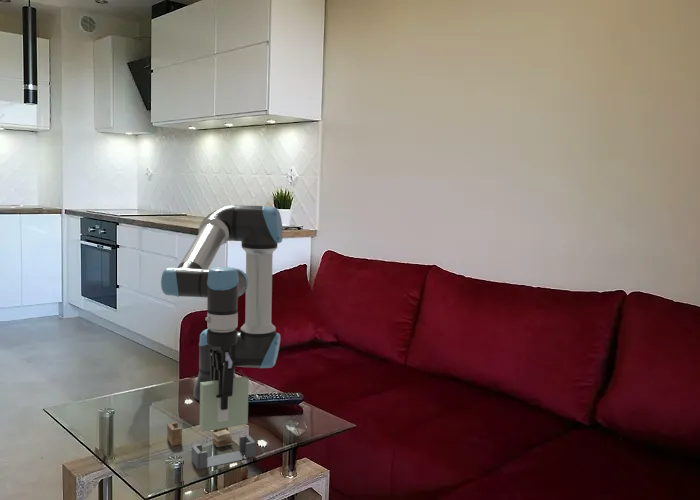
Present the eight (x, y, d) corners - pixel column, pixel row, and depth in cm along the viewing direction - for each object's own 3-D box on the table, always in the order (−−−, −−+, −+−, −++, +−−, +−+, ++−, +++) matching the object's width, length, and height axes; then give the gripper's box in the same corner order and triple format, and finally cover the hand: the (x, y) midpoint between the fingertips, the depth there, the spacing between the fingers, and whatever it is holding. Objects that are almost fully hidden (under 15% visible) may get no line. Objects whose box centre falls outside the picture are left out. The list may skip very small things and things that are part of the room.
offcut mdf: (225, 434, 169) (225, 429, 169) (230, 438, 167) (230, 432, 167) (213, 437, 167) (213, 432, 166) (217, 441, 164) (217, 436, 164)
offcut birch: (227, 444, 170) (227, 439, 170) (232, 448, 167) (232, 443, 167) (212, 447, 167) (212, 442, 167) (217, 452, 165) (217, 447, 165)
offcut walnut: (225, 439, 170) (225, 434, 169) (231, 442, 167) (231, 437, 167) (213, 443, 167) (213, 437, 167) (219, 446, 165) (219, 441, 164)
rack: (222, 431, 177) (222, 414, 176) (227, 438, 172) (228, 420, 172) (167, 441, 169) (167, 423, 168) (171, 449, 164) (171, 430, 164)
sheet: (244, 420, 161) (245, 376, 159) (247, 423, 159) (248, 379, 157) (199, 428, 155) (200, 382, 153) (202, 431, 152) (203, 385, 151)
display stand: (248, 452, 164) (248, 434, 163) (255, 460, 160) (255, 442, 159) (191, 464, 156) (191, 445, 156) (197, 472, 152) (197, 453, 151)
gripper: (198, 323, 158) (197, 410, 161) (217, 337, 145) (216, 432, 147) (226, 321, 162) (224, 406, 164) (247, 334, 149) (245, 427, 151)
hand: (220, 418), depth 156 cm, fingers closed on sheet, 2 cm apart
